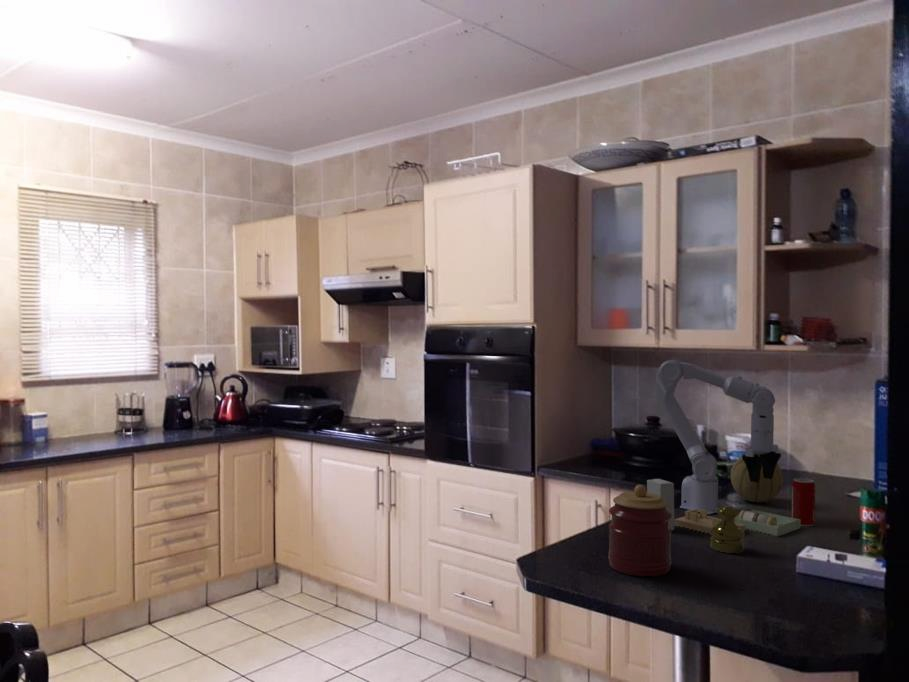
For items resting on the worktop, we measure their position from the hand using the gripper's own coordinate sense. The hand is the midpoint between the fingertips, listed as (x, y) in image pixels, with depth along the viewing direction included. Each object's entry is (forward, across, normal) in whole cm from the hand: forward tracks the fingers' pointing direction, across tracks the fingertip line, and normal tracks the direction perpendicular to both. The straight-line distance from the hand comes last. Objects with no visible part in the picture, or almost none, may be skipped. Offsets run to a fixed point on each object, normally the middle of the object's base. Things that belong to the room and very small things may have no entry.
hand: (761, 480), depth 192 cm
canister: (+10, -63, -5) cm, 64 cm away
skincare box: (+10, -33, +10) cm, 36 cm away
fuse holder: (+10, -23, +2) cm, 25 cm away
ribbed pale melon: (+10, +15, +9) cm, 20 cm away
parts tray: (+10, -10, -6) cm, 15 cm away
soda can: (+10, +1, -11) cm, 15 cm away
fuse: (+7, -12, -6) cm, 15 cm away
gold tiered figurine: (+10, -36, -10) cm, 39 cm away
